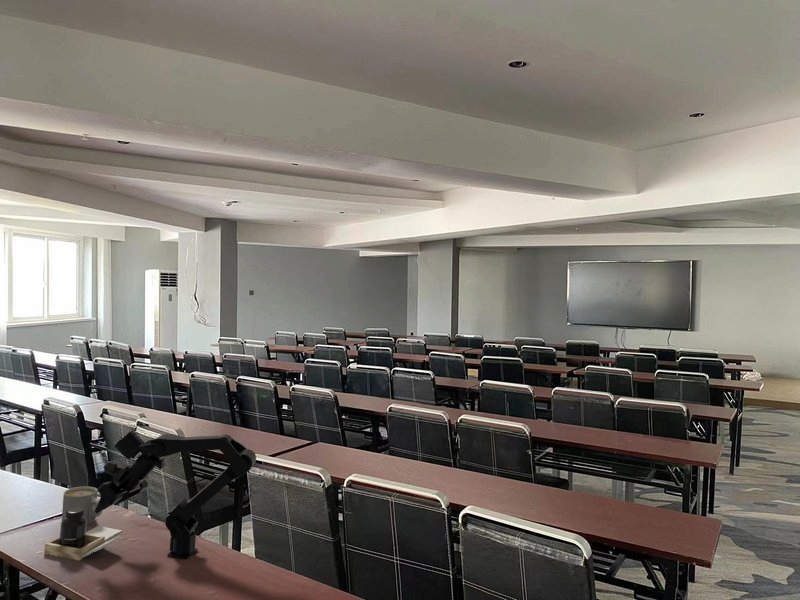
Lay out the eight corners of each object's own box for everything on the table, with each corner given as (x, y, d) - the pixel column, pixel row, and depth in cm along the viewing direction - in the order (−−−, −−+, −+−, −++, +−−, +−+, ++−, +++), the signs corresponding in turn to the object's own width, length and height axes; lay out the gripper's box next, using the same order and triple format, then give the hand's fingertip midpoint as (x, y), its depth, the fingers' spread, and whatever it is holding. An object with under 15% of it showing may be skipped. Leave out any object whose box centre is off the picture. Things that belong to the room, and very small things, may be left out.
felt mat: (121, 531, 187) (122, 530, 187) (101, 542, 178) (101, 541, 178) (98, 527, 189) (98, 526, 189) (77, 538, 180) (77, 536, 180)
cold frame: (104, 546, 176) (104, 536, 176) (79, 560, 166) (79, 550, 166) (70, 540, 178) (71, 530, 178) (44, 553, 169) (44, 543, 169)
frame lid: (121, 550, 174) (122, 535, 174) (100, 562, 165) (101, 546, 165) (100, 546, 175) (101, 531, 175) (79, 558, 167) (80, 542, 167)
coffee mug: (54, 522, 190) (56, 492, 190) (82, 513, 199) (84, 484, 199) (82, 531, 185) (84, 500, 185) (109, 521, 194) (111, 492, 194)
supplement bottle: (64, 557, 168) (67, 516, 168) (54, 549, 172) (57, 509, 172) (89, 549, 173) (91, 510, 173) (78, 542, 177) (81, 503, 177)
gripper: (138, 446, 184) (105, 483, 184) (104, 455, 166) (67, 496, 166) (162, 470, 183) (129, 507, 183) (130, 482, 164) (92, 523, 164)
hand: (105, 508), depth 174 cm, fingers open, 9 cm apart
